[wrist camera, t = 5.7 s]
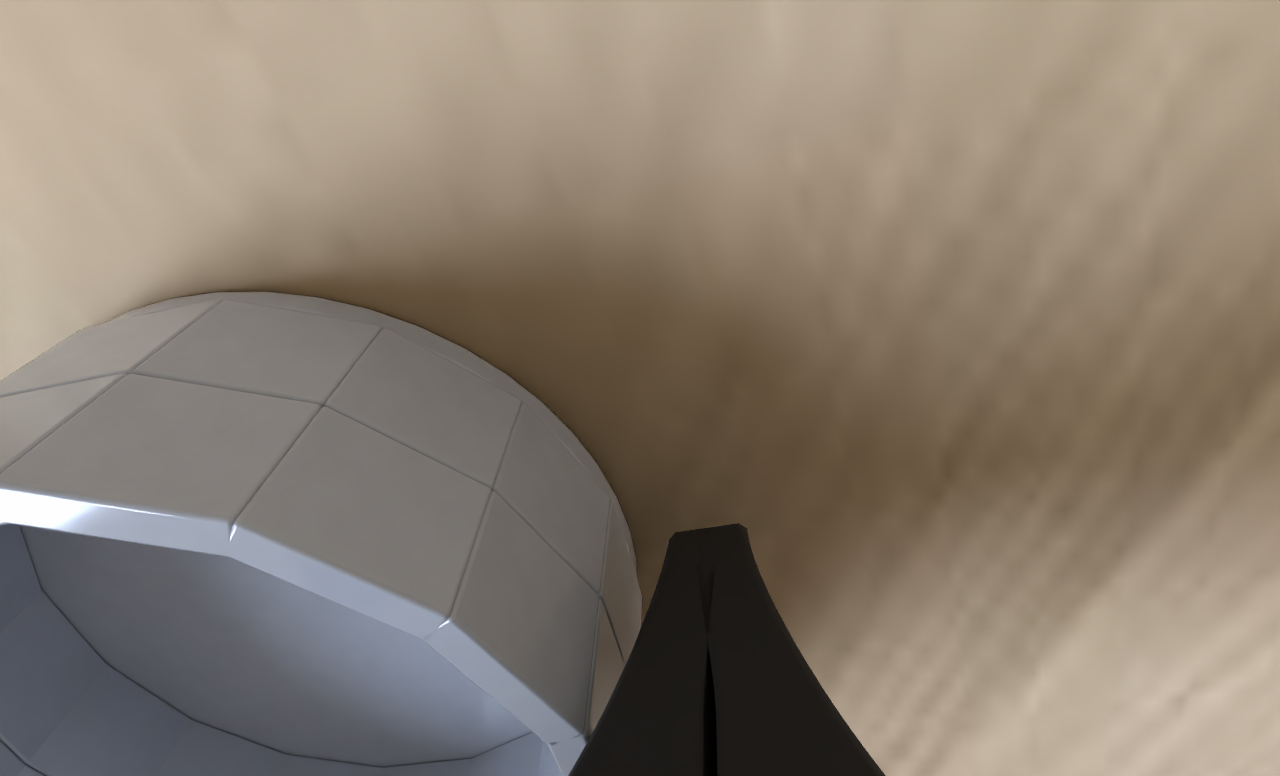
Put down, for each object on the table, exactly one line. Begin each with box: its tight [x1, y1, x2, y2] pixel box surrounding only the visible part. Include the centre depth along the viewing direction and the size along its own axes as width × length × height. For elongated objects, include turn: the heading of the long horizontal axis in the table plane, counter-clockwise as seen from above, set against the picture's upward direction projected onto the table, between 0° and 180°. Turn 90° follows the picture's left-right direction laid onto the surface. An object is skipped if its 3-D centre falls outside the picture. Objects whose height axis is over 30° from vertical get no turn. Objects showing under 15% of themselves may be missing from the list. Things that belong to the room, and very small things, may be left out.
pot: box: [0, 292, 642, 776], centre depth 11 cm, size 11×11×5 cm
